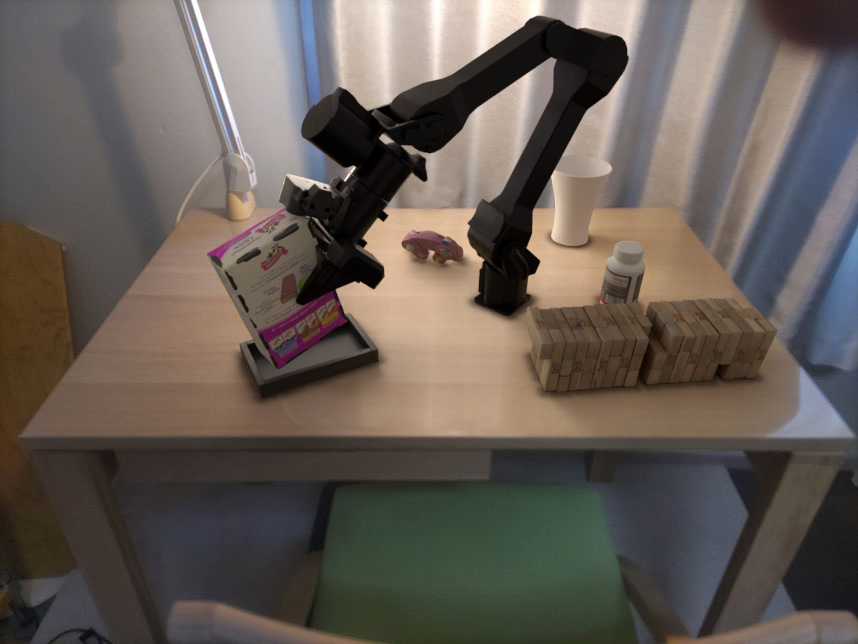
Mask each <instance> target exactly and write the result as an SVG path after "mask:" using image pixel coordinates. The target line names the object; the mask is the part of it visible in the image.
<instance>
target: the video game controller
mask: <svg viewBox="0 0 858 644" xmlns="http://www.w3.org/2000/svg"><path fill="white" fill-rule="evenodd" d="M401 247H402V248H403V249H404V250H406V252H408V253H410V254H413V255H414V257H416V258H417V259H418V260H421V261H426V260H428V258H429V256H430V251H431V252H433V255H432V259H431V260H433V262H434V263H437V264H439V265H443V264H445V263H446V262H447V261H451V260H452V261H454V262H460V261H461V260H462V259H463V258H464V248H463V247H462V246H461V245H459V244H458V242H457V241H455V239H454V238H452V237H450V236H444V235H443V234H440V233H438V232H436V231H434V230H420V231H416V230H414V229H411V230H410V231H408V233H407V234H405V236H403V238H402V241H401Z"/></svg>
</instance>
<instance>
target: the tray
mask: <svg viewBox="0 0 858 644" xmlns="http://www.w3.org/2000/svg"><path fill="white" fill-rule="evenodd" d="M345 316H346V318H347V322H346V323H344V324H343V325H341V326H340V327H339V328H337V329H336V330H334V331H333V332H332V333H330V334H329V335H327V336H326V337H325V338H323V339H322V340H320V341H319V342H318V343H316V344H315V345H313V346H312V347H311V348H309V349H308V350H306V351H305V352H304V353H302V354H301V355H299V356H298V357H297V358H295V359H294V360H292V361H291V362H290V363H288V364H287V365H285V366H284V367H282V368H281V369H279V370H277V369H276V368H275V367H274V366H273V365H272V364H271V363H270V361H269V360H268V359H267V358H265V357H264V356H263V355H262V354H261V352H260V351H259V349H258V347H257V346H256V344H255V342H254V340H253V339H249V340H247V341H243V342H239V343H238V344H239V349H240V354H241V357H242V359H243V361H244V363H245V365H246V368H247V370H248V372H249V375H250V377H251V379H252V381H253V383H254V385H255V388H256V391H257V393H258V395H259V397H260V398H261V399H264V398H266V397H270V396H272V395H273V396H274V395H277V394H280V393H283V392H286V391H289V390H292V389H295V388H297V387H298V388H299V387H301V386H304V385H307V384H311V383H313V382H314V383H315V382H317V381H320V380H323V379H326V378H329V377H333V376H336V375H338V374H342V373H345V372H348V371H351V370H352V371H353V370H355V369H358V368H362V367H364V366H367V365H370V364H373V363H377V362H379V349H378V347H377V345H376V344H375V343H374V342H373V341H372V339H371V338H370V337H369V335H368V334H367V333H366V331H365V330H364V329H363V327H362V326H361V325H360V324H359V322H358V321H357V319H356V318H355V317H354V315H353V314H352V313H351V312H346V313H345Z"/></svg>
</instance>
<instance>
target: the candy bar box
mask: <svg viewBox="0 0 858 644" xmlns="http://www.w3.org/2000/svg"><path fill="white" fill-rule="evenodd" d="M316 248H318V249H320V247H319V244H318V242H317V239H316V237H315V234H314V231H313V228H312V226H311V223H310V221H309V218H307V217H305V216H301V217H300V216H296V215H293V214H290V213H288V212H287V211H286V210H285V207H283V208H282V209H280V210H278V211H276V212H275V213H273V214H271V215H270V216H268V217H266V218H264V219H263V220H261V221H259V222H258V223H256V224H254V225H253V226H250V227H249V228H247V229H246V230H244V231H242V232H241V233H239V234H238V235H236V236H234V237H232V238H231V239H229V240H227V241H225V242H223V243H222V244H221V245H219V246H217V247H215V248H214V249H212V250H210V251H209V252H207V253H206V257H207V258H208V261H209V262H210V264H211V265H212V267H213V269H214V271H215V273H216V274H217V276H218V278H219V279H220V281H221V284H222V285H223V287H224V289H225V291H226V293H227V294H228V296H229V298H230V300H231V302H232V304H233V305H234V308H235V309H236V311H237V314H238V315H239V316H240V319H241V320H242V321H243V324H244V325H245V327H246V329H247V331H248V333H249V335H250V337H251V338H252V339H251V340H254V342H255V344H256V346H257V347H258V349H259V351H260V352H261V354H262V355H263V356H264V357H265V358H267V359H268V360H269V361H270V363H271V364H272V365H273V366H274V367H275V368H276V369H277V370H279V369H281V368H282V367H284V366H285V365H287V364H288V363H290V362H291V361H292V360H294V359H295V358H297V357H298V356H299V355H301V354H302V353H304V352H305V351H306V350H308V349H309V348H311V347H312V346H313V345H315V344H316V343H318V342H319V341H320V340H322V339H323V338H325V337H326V336H327V335H329V334H330V333H332V332H333V331H334V330H336V329H337V328H339V327H340V326H341V325H343V324H344V323H346V322H347V318H346V316H345V314H346V313H345V310H344V307H343V305H342V301H341V300H340V297H339V294H338V292H337V289H336V290H334V291H331V292H329V293H327V294H325V295H323V296H321V297H319V298H317V299H315V300H313V301H311V302H309V303H308V304H306V305H303V306H302V305H300V304H298V303H296V298H297V296H298V294H299V292H300V291H301V289H302V287H303V286H304V284H305V282H306V281H307V279H308V278H309V276H310V274H311V273H312V271H313V269H314V268H315V266H316V264H317V259H316ZM320 250H321V249H320Z"/></svg>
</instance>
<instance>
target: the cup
mask: <svg viewBox="0 0 858 644" xmlns="http://www.w3.org/2000/svg"><path fill="white" fill-rule="evenodd" d="M613 171H614V168H613V166H612V164H611V163H609V162H608V161H606V160H605V159H601V158H598V157H594V156H590V155H582V154H567V155H562V157H561V159H560V161H559V163H558V164H557V166H556V168H555V170H554V172H553V174H552V176H551V177H550V179H551V183H552V189H553V195H554V221H553V222H554V223H553V226H552V230H551V234H550V237H551V239H552V240H553V241H554V242H555V243H557V244H559V245H562V246H566V247H579V246H583V245H585V244H587V242H588V241H589V230H590V225H591V219H592V215H593V213H594V210H595V207H596V204H597V201H598V199H599V197H600V195H601V192H602V191H603V189H604V188H605V186H606V183H607V182H608V179H609V178H610V176H611V174H612V173H613Z"/></svg>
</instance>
